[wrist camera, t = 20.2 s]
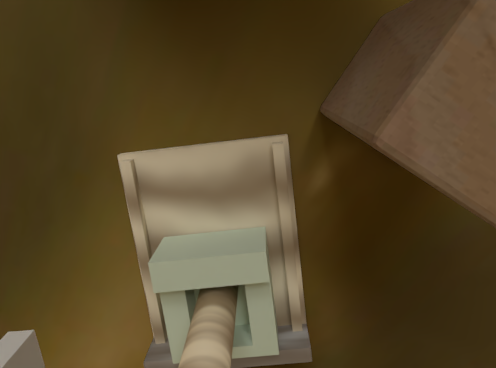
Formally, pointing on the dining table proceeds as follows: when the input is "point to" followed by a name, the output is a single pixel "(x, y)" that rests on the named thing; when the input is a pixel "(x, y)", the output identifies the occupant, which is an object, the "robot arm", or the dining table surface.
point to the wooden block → (429, 97)
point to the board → (220, 223)
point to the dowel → (211, 329)
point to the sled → (218, 275)
